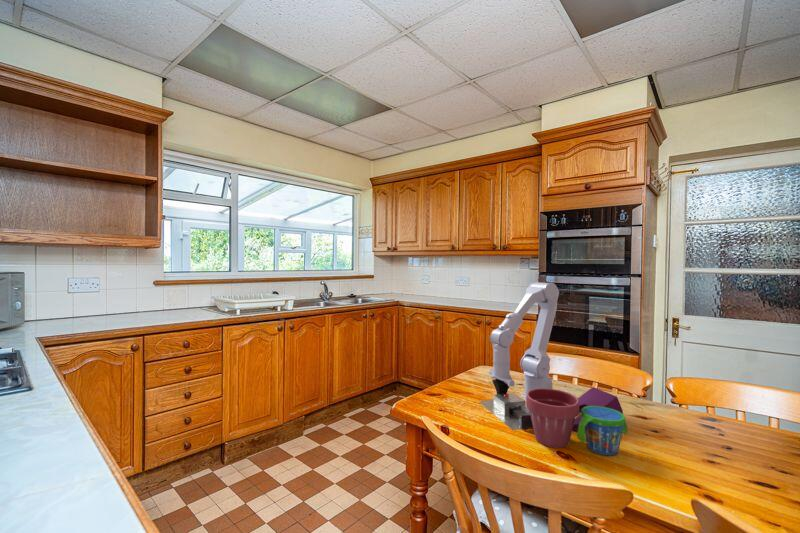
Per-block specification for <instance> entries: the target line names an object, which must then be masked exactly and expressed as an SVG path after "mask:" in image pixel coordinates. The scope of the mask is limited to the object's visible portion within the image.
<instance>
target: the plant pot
mask: <svg viewBox="0 0 800 533" xmlns="http://www.w3.org/2000/svg"><path fill="white" fill-rule="evenodd" d="M578 398H579V397H577V396H575V395H574V394H572V393H570V392H567V391H564V390H561V389H556V388H555V389H554V388H553V389H547V388H538V389H532V390H530V391H528V392H527V397H526V399H525V401H526V407H527V408H528V409H529V410H530V415H531V420H532V424H533V428H532V429H533V433H534V438H535V440H536V441H537V442H538V443H540V444H541V445H543V446H546V447H550V448H556V449H557V448H558V449H560V448H561V449H562V448H566V447H568V446H569V444H570V441H571V437H572V434H573V430H572V429H573V425H574V421H575V418H577V417H578V416H579V414H580V413H579V400H578Z"/></svg>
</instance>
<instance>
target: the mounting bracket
mask: <svg viewBox="0 0 800 533" xmlns="http://www.w3.org/2000/svg"><path fill="white" fill-rule="evenodd" d="M577 398H578V400H579V414H580V415H578V416H577V417H575V421H574V425H573V429H572V431H578V427H579V423H580V420H581V418H582V415H581V409H582V408H583V407H586V406H600V407H606V408H610V409H613V410H616V411H618V412H620V413H622V414H623V415H624V412H623V407H622V405H621V402H620V401H619V398H618V396H616V395H614V394H611V393H609V392H606V391H604V390H601V389H599V388H596V387H593V386H592V387H591V388H590V389H589V390H586V391H585V392H584V393H583V394H581V395H580V396H578V397H577Z"/></svg>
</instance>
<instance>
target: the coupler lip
mask: <svg viewBox="0 0 800 533" xmlns="http://www.w3.org/2000/svg"><path fill="white" fill-rule="evenodd" d="M478 403H480V404H481V405H482V406H483V407H484V408H485V409H487V411H489V412H491V413H492V414H493V415H494V416H495V417H496V418H497V419H499V420H500V421H501V422H503V424H504V425H506V426H507V427H508V428H509V429H511V430H512V431H517V430H524V429H526V430H527V429H533V424H532V420H531V415H530V410H529V409H528V408H527V406H526V412H524V411H523V410H522V409H520V408H519V407H517V406H516V407H509V415H504V414H502V413H501V412H500V411H499V410H497V409H496V408H495V407H494V403H493V399H490V400H482V401H481V400H480V401H478Z"/></svg>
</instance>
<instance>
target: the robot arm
mask: <svg viewBox="0 0 800 533" xmlns="http://www.w3.org/2000/svg"><path fill="white" fill-rule="evenodd" d="M559 295H560V290H559V289H558V287H557V285H556V284H555V283H554V282H540V281H533V282H531V283H530V284H529V286H528V287H527V288H526V290H525V294H524V296H523V298H521V300H520V302H519V304H518V306H517V307H516V308H515V310H514V312H510V313H508V314H506V316H505V318H504V320H503V321H502V322H501V324H500V325H498V328H495V329H493V330H492V331H491V334H490V335H489V341H490V342H491V344H492V350H493V351H492V356H493V358H492V359H493V360H492V361H493V366H492V367H493V368H492V369H491V368H490V369H489V375H490V378H492V380H491V381H492V384H493V386H494V388H495V392H496V394H504V393H508V391H509V388H511V387H515V380H514V379H513V377H512V376H511V374H510V373H511V366H510V365H511V362H510V359H511V358H510V357H511V356H510V354H511V353H510V352H511V351H510V347H511V345H512V344H513V343H514V337H515V334H516V333H517V331H518V330H519V329H520V327H521V326H522V324H523V323H524V322H523V318H524V317H525V315H526V314H527V313H528V312H529V311H530V309H531V308H533V306H534V305H535V304H538V306H539V308H540V310H539V314H538V319H537V322H536V326H535V330H534V333H533V338H532V342H531V346H530V347H529V348H528V349H526V350H525V351H524V354H523V356H522V358H521V359H520V361H519V363H520V364H519V365H520V366H519V367H520V368H521V370H523V374H524V394H520V395H519V397H521V398H522V399H524V400H526V397H527V392H528V391H530V390H532V389H538V388H547V389H554V388H553V386H554V384H553V380H552V377H551V376H550V375H549V372H550V369H551V367H550V363H551V362H550V361H551V358H550V356H549V354H548V353H547V350H548V345H549V341H550V337H551V333H552V329H553V324H554V321H555V316H556V313H557V310H558V299H559Z"/></svg>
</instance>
